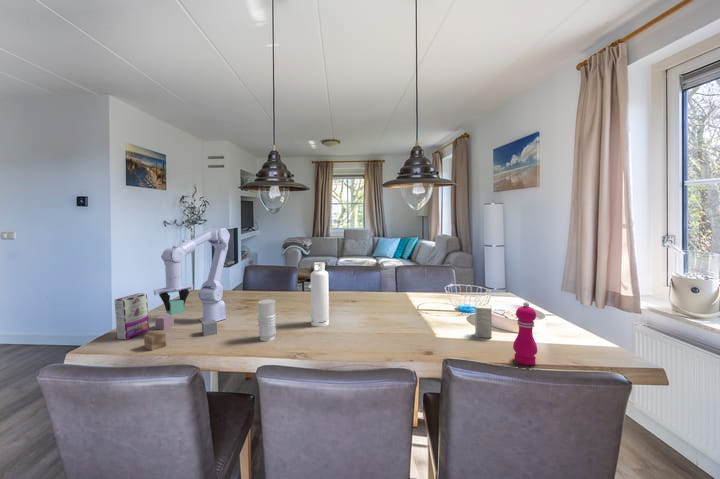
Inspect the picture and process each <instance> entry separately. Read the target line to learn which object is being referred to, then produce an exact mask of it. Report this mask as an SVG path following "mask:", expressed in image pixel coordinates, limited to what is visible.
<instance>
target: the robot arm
mask: <svg viewBox="0 0 720 479" xmlns="http://www.w3.org/2000/svg"><path fill="white" fill-rule="evenodd" d="M230 237H231V234H230V232H229V230H228V229H227V228H224V227H222V228H215V227H214V228H213V227H209V228H207V229H204V230H203V232H201V233H200V234H198V235H196V236H195V237H193V238H192V239H185V238H184V239H182V240H181V242H180V243H178V244H174V245H173V247H171V248H170V247H168V248H166V249H164V250H163V251H162V254H161V256H160V257H161V259H162V261H163V264H164V266H165V267H164V268H165V269H164V270H165V287H162V288H158V289H154V290H153V295H154V296H159V297H160V299H161V301H162V303H163V304H164V308H165V312H166V311H170V305H169V300H171V296H170V294H172V293H175V292H176V293H177V292H178V294H179V295H178V296H179V299H181V300H183V301H184V306H185V305H186V304H185V303H186V300H187V298H188V297H189V294H190V290H191V291H192V290H194V284H182V283H183V282H182V278H183V277H182V261H183V260H184V258H185V257H186V256H188V255H190V254H191V253H193V252H194V251H195V250H196V249H197V248H196V247H198V246H199V245H202V244H203V243H205V242H207V241H208V243H210V245H211V246H213V248H214V249H215V250H214V253H213V257H212V261H211V265H210V267H209V272H208V273H209V274H208V277H207V280H206V281H205V282H204V283H202V285H201V288H200V289H199V291H198V294H197V297H198V299H199V300H200V301H201V303H202V318H200V319H199V321H200V322H202V321H208V320H214V319H215V321H216V322H219V321H224V320H226V319H227V317H226V316H227V315H226V303H225V301H224V300H222V298H223V294H224V292H223V289H224V285H222V284H221V279H222V278H221V277H222V274H223V270H224V266H225V261H226V257H227V253H228V250H229V241H230Z"/></svg>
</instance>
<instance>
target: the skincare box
mask: <svg viewBox="0 0 720 479" xmlns="http://www.w3.org/2000/svg"><path fill="white" fill-rule="evenodd" d="M474 305H475V306H474V307H475V309H474V311H475V314H474V318H475V320H474V321H475V328H474V329H475V337H477V338H485V339H486V338H487V339H492V338H493V337H492V332H493V331H492V325H493V324H492V320H493V319H492V318H493V316H492V313H493V312H492V305H483V304H481V305H480V304H474Z"/></svg>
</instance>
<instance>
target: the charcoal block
mask: <svg viewBox="0 0 720 479" xmlns="http://www.w3.org/2000/svg"><path fill="white" fill-rule="evenodd" d="M201 334H202V335H203V337H208V336H214V335H218V321H215V319H214V320H208V321H201Z"/></svg>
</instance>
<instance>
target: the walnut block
mask: <svg viewBox="0 0 720 479" xmlns="http://www.w3.org/2000/svg"><path fill="white" fill-rule="evenodd" d="M143 340H144V342H143V343H144V349H145V350H149V351H151V352H152V351H156V350H159V349H162V348H165V347H166V346H167V339H166V333H165V332H161V331H159V330H158V331H154V332H151V333H148V334H144V335H143Z"/></svg>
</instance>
